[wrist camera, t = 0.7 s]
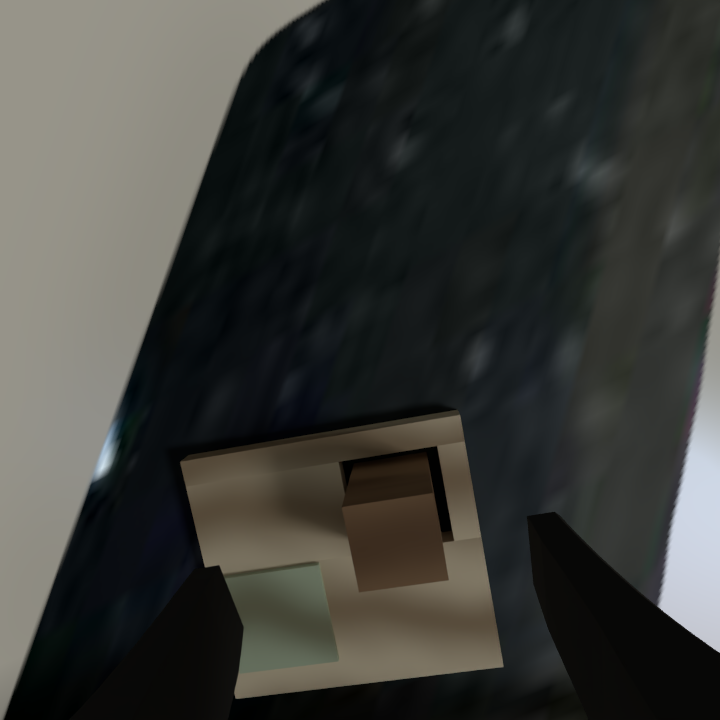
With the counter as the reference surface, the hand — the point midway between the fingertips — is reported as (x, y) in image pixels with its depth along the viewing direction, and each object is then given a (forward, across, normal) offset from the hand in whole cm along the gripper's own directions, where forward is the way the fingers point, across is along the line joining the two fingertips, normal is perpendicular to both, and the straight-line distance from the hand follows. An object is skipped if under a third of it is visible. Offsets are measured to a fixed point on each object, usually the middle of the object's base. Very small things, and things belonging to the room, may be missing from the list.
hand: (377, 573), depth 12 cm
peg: (+15, 0, +9) cm, 17 cm away
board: (+14, +4, +12) cm, 18 cm away
